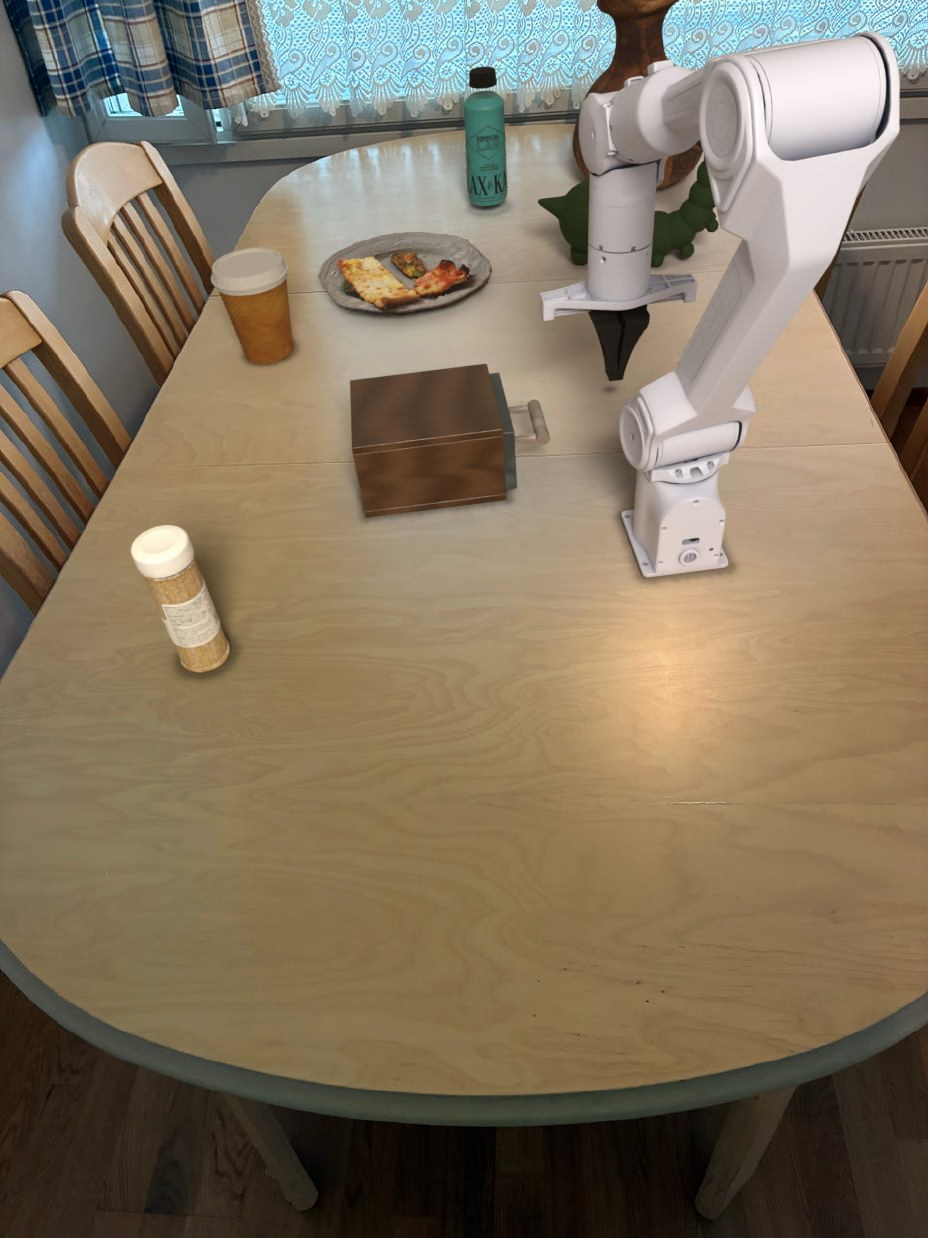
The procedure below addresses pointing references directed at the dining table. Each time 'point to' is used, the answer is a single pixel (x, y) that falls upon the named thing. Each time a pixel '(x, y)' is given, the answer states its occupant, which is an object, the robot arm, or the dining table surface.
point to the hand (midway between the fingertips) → (614, 375)
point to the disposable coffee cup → (256, 301)
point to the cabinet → (427, 440)
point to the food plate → (404, 272)
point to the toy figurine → (668, 228)
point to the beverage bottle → (485, 140)
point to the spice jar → (181, 596)
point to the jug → (637, 68)
